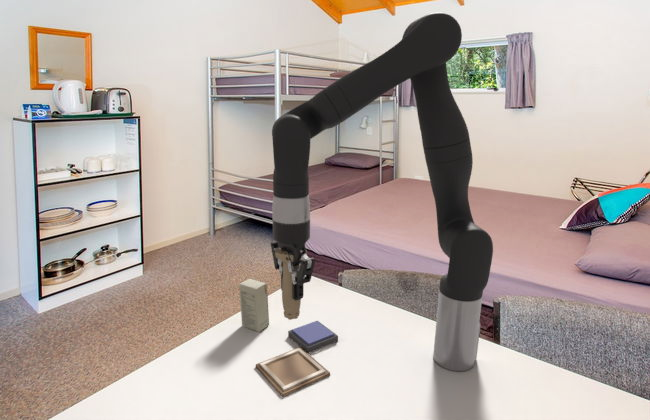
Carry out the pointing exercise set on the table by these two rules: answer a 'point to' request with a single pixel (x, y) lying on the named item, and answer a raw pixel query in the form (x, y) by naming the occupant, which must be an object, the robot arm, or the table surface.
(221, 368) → the table surface
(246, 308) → the skincare box
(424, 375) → the table surface
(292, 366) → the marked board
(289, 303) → the handle
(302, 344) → the ink pad
